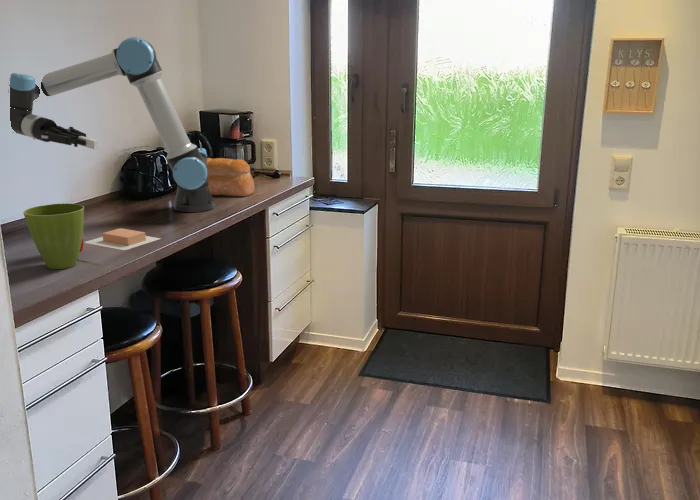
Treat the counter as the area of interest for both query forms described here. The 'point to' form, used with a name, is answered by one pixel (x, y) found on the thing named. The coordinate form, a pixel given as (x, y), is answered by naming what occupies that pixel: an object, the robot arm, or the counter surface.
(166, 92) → the robot arm
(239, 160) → the bread
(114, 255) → the counter surface
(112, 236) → the card box
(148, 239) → the mat
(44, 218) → the flower pot
